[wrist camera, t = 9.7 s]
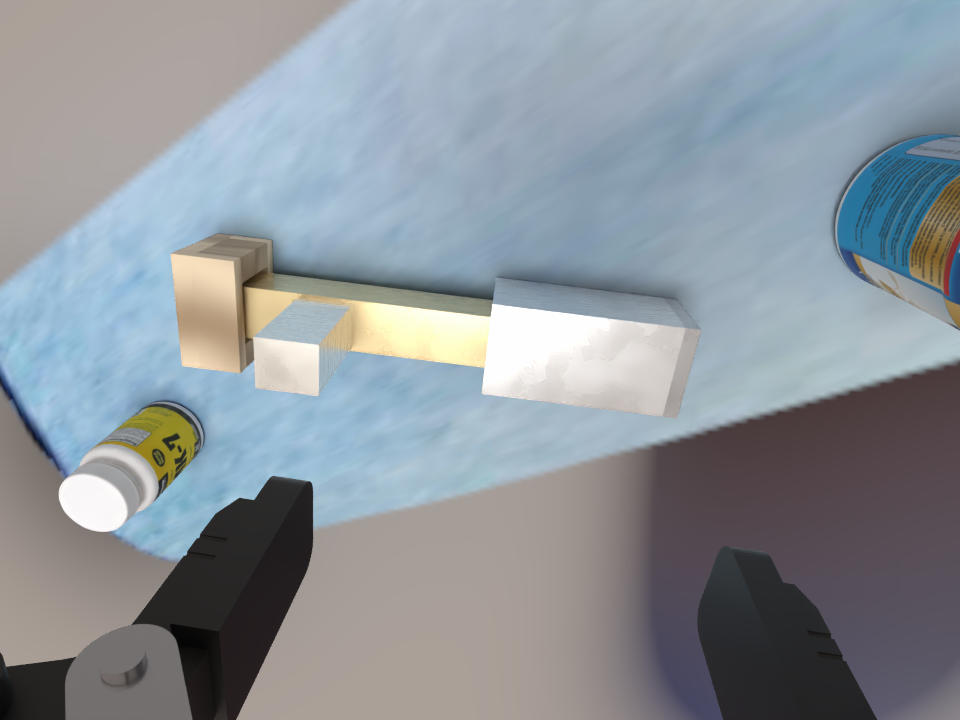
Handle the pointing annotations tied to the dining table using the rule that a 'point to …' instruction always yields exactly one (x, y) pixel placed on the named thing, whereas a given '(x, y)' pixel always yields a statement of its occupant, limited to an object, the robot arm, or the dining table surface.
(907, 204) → the beverage bottle
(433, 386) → the dining table surface
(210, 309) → the socket
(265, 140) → the dining table surface
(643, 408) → the white plaster block
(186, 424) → the supplement bottle
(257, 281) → the tan piece
